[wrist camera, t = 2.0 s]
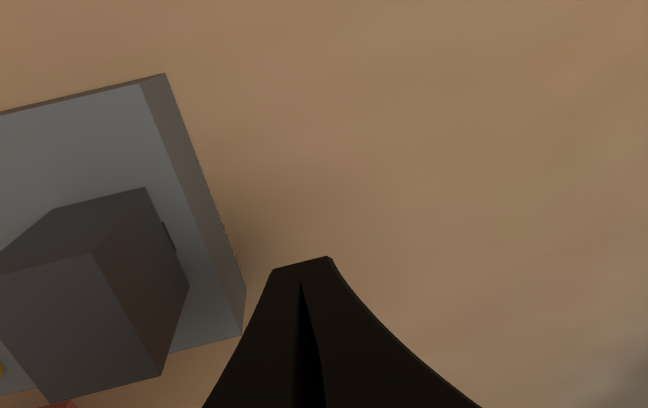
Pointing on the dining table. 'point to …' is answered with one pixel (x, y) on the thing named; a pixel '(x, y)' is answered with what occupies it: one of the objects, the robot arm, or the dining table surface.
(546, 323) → the dining table surface
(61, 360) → the switch
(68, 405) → the block
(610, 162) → the dining table surface
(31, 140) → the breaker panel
